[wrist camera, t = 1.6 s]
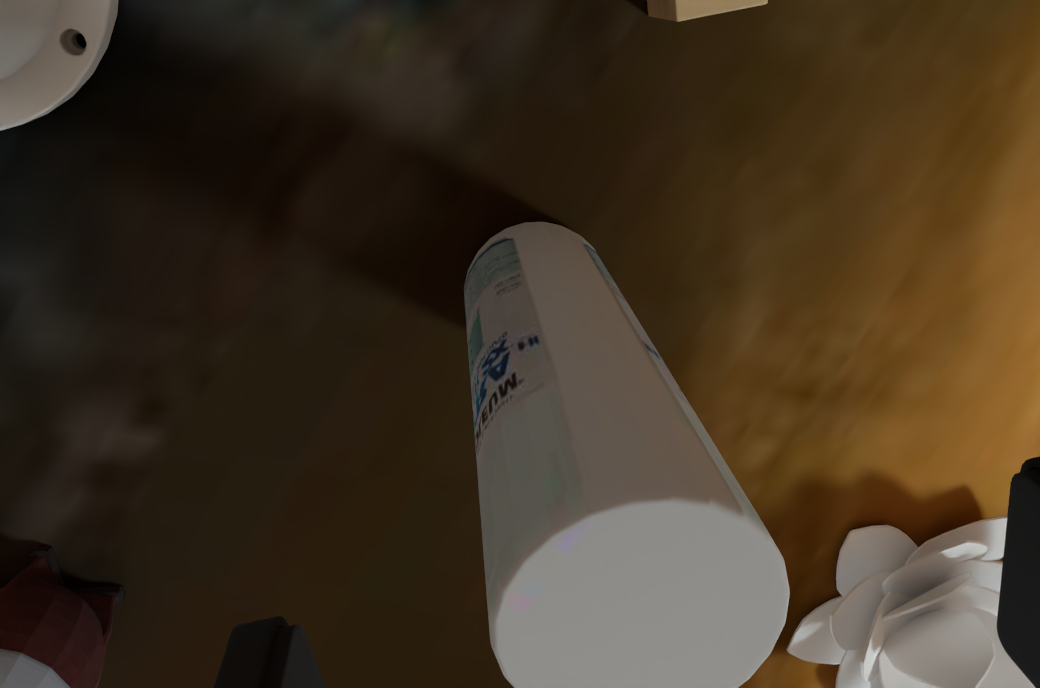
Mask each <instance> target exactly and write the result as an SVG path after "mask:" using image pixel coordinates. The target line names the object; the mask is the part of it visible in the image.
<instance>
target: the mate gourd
mask: <svg viewBox="0 0 1040 688" xmlns="http://www.w3.org/2000/svg"><path fill="white" fill-rule="evenodd" d="M31 555H32V561H33V562H32V563H31V564H30V565H29V566H27V567H26V568H25V569H23V570H22V571H21V572H20V573H19V574H18V575H17V576H15V577H14V578H13V579H12V580H11V581H10V582H9V583H8V584H7V585H6V586H5V587H3V588H0V688H97V687H98V683H99V680H100V676H101V673H102V670H103V666H104V659H105V650H106V647H107V644H108V641H109V638H110V635H111V632H112V625H113V615H114V606H115V604H122V603H123V601H124V597H125V592H124V589H123V587H122V586H103V587H89V588H68V587H66V586H65V584H64V581H63V579H62V576H61V572H60V569H59V566H58V563H57V560H56V557H55V554H54V551H53V549H52V547H51V546H38V547H36V548H35V549H34V550H33V551H32V552H31Z"/></svg>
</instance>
